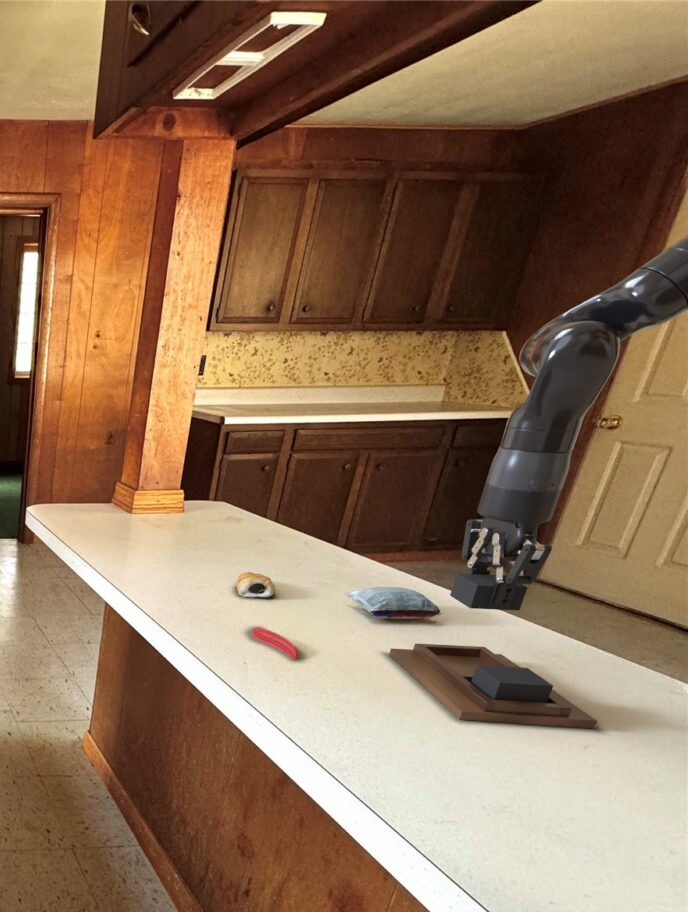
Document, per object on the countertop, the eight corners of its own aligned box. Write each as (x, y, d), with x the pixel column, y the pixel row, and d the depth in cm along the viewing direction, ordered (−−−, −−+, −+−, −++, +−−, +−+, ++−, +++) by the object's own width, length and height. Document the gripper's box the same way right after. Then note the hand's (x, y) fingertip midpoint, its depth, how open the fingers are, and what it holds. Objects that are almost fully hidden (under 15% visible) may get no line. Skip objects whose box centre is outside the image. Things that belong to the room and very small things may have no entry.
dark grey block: (519, 690, 91) (527, 667, 90) (544, 709, 86) (553, 685, 85) (469, 687, 92) (476, 665, 91) (491, 705, 88) (499, 682, 86)
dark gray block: (496, 597, 96) (504, 574, 95) (519, 610, 91) (528, 587, 90) (449, 595, 97) (456, 573, 96) (469, 608, 93) (477, 585, 91)
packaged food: (341, 604, 123) (347, 580, 121) (410, 605, 122) (417, 580, 120) (367, 624, 115) (374, 598, 113) (441, 625, 114) (449, 599, 112)
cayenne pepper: (245, 628, 115) (247, 618, 115) (273, 628, 115) (275, 618, 114) (272, 659, 104) (275, 648, 104) (304, 660, 104) (306, 649, 103)
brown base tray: (498, 660, 101) (504, 646, 100) (594, 728, 84) (601, 712, 83) (388, 655, 104) (392, 640, 103) (459, 719, 87) (464, 703, 86)
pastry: (231, 581, 136) (234, 563, 135) (267, 584, 134) (271, 566, 133) (237, 597, 128) (240, 578, 127) (276, 600, 126) (280, 582, 125)
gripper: (599, 495, 81) (550, 622, 87) (520, 472, 94) (483, 584, 100) (527, 494, 82) (485, 619, 88) (459, 472, 95) (427, 582, 101)
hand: (484, 600), depth 94 cm, fingers closed on dark gray block, 5 cm apart
